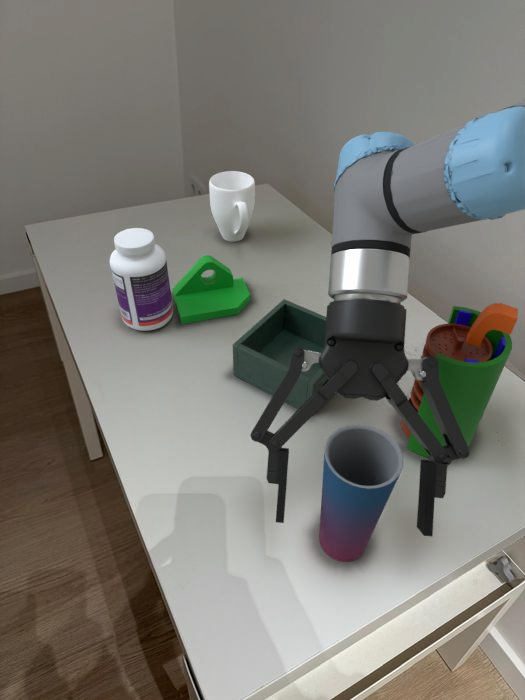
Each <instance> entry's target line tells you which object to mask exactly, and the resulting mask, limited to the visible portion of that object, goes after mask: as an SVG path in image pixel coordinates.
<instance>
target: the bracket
mask: <svg viewBox="0 0 525 700" xmlns="http://www.w3.org/2000/svg"><path fill="white" fill-rule="evenodd" d="M206 271H213V273H212V274H210V276H202V275H203V274H204V273H205V272H206ZM171 291H172V296H173V299H174V303H175V307H176V310H177V314H178V317H179V320H180V324H181V325H184V324H190V323H196V322H202V321H208V320H215V319H219V318H226V317H231V316H237V315H239V314H240V313H241V312H242V310H243V309H244V308H245V307H246V306H247V305H248V304H249V303H250V302H251V293H250V290H249V288H248V287H247V284H246V282H245V280H244V278H243V277H238V278H234V275H233V273H232V269H230V268H229V267H228V266H226V265H225V264H223V262H221V261H219V260H218V259H216V258H215V257H213V256H212V255H210V254H207V255H206V254H205V255H203V256H201V257H199V259H198V260H197V261H196V262H195V264H194V265H193V266H192V267H191V268H190V269H189V270H188V271H187V272H186V273H185V274H184V275H183V276H182V278H181V279H180V280H179V281H177V283H176V284H175V285H174V286H173V287H172V290H171Z"/></svg>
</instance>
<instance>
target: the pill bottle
mask: <svg viewBox="0 0 525 700" xmlns="http://www.w3.org/2000/svg"><path fill="white" fill-rule="evenodd" d="M113 243H114V248H115V249H114V250H113V251H112V252H111V254H110V257H109V267H110V270H111V276H112V279H113V285H114V288H115V293H116V298H117V302H118V307H119V312H120V315H121V319H122V321H123V322H124V324H125V325H126V326H127V327H129V328H131V329H133V330H136V331H143V332H144V331H146V332H147V331H153V330H158V329H160V328H162V327H164V326H165V325H167V323H169V322H170V320H171V319H172V318H173V314H174V304H173V298H172V292H171V291H172V290H171V283H170V275H169V270H168V262H167V261H168V260H167V256H166V252H165V250H164V249H163V248H162V247H161V246H160V245H158V244H157V243H156V240H155V235H154V233H153V232H152V231H151V230H149V229H147V228H142V227H132V228H126V229H124V230H122V231H119V232H117V234H116V235H115V236H114V238H113Z"/></svg>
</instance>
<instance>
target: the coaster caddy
mask: <svg viewBox="0 0 525 700" xmlns="http://www.w3.org/2000/svg"><path fill="white" fill-rule="evenodd" d="M518 314H519V309H518V308H516V307H515V306H511V305H508V304H505V303H500V302H494V303H491V304H489V305H488V306H486V307H485V308H484V309H483V310H482V311H479V310H476V309H473V308H469V307H466V306H465V307H464V306H458V305H453V306H452V309H451V311H450V314H449V318H448V321H447V323H442V324H438V325H436V326H434V327H432V328H431V329H430V330H429V331H428V332H427V335H426V338H425V344H424V345H423V349H422V352H421V353H422V354H421V357H420V359H422V358H424V357H435V358H436V359H437V360H438V364H439V381H440V383H441V386H442V388H443V390H444V393H445V395H446V397H447V400H448V402H449V404H450V407H451V409H452V411H453V414H454V416H455V418H456V421H457V423H458V425H459V428H460V430H461V432H462V435H463V437H464V439H465V442H466V444H467V446H468V448H469V447H470V445H471V443H472V441H473V439H474V436H475V435H476V432H477V429H478V427H479V425H480V424H481V423H480V422H481V420H482V418H483V416H484V413H485V412H486V409H487V407H488V405H489V403H490V400H491V398H492V396H493V393H494V391H495V388H496V386H497V384H498V382H499V379H500V378H501V375H502V373H503V371H504V369H505V366H506V363H507V362H508V359H509V357H510V355H511V352H512V350H513V341H512V337H511V335H512V332H513V330H514V328H515V326H516V324H517V321H518V316H519V315H518ZM407 399H408V401H409V402H410V403H411V405H412V406H413V407H414V409H415V410H416V411H417V413H418V414H419V415H420V417H421V418H422V420H423V421H424V422H425V424H426V425H427V426H428V428H429V429H430V430H431V432H432V433H433V434H434V436H435V437H436V438H437V440H438V441H439V442H440V444H441V445H442V446H446V443H445V441H444V439H443V436H442V434H441V432H440V429H439V427H438V425H437V422H436V420H435V418H434V415H433V413H432V411H431V408H430V406H429V403H428V401H427V399H426V396H425V394H424V392H423V389H422V387H421V383H420V380H416V379H415V378H414V379H413V384H412V387H411V391H410V397H409V398H407ZM400 426H401V430H402V432H403V434H404V435H405V437H406V438H407V439H408V443H407V446H406V449H408V450H410V451H411V452H413V454H414V453H415V454H417V455H419V456H421V457H425V458H428V459H430V456H429V455H428V454H427V452H426V451H425V450H424V448H423V447H422V445H421V444H420V443H419V441H418V440H417V439H416V437H415V436H414V435H413V433H412V432H411V431H410V429H409V428H408V427H407V425H406V424H405V422H404V421H403V420H402V418H401V417H400Z"/></svg>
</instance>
